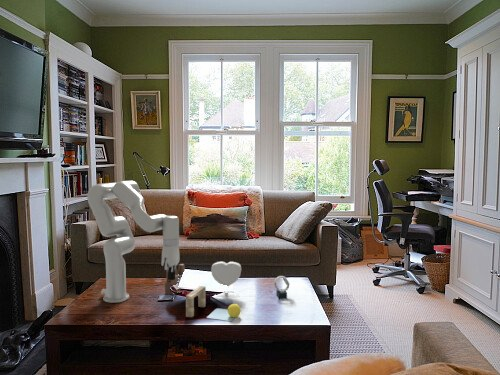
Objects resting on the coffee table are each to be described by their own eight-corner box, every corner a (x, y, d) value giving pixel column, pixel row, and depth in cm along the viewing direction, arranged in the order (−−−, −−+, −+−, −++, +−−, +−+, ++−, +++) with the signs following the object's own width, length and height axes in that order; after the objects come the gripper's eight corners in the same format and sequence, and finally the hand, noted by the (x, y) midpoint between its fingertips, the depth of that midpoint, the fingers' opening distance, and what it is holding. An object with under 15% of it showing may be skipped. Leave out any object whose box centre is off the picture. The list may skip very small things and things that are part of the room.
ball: (232, 322, 180) (223, 313, 181) (237, 317, 185) (227, 308, 187) (240, 312, 178) (230, 303, 180) (245, 308, 184) (235, 299, 185)
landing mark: (206, 318, 181) (206, 317, 181) (216, 308, 193) (216, 308, 193) (231, 321, 178) (231, 321, 178) (240, 311, 189) (240, 311, 189)
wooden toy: (177, 295, 212) (176, 248, 210) (164, 294, 213) (164, 248, 211) (185, 285, 227) (185, 242, 225) (173, 285, 228) (173, 242, 226)
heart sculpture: (211, 297, 208) (210, 263, 207) (212, 294, 213) (212, 261, 212) (240, 297, 208) (240, 263, 207) (241, 294, 213) (241, 261, 212)
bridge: (186, 316, 183) (185, 295, 182) (200, 305, 197) (199, 285, 196) (191, 317, 182) (191, 296, 181) (205, 305, 196) (205, 286, 196)
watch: (290, 298, 207) (290, 277, 207) (275, 299, 206) (275, 278, 205) (287, 294, 213) (288, 274, 212) (273, 295, 212) (273, 275, 211)
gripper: (171, 238, 199) (172, 274, 201) (155, 244, 185) (156, 283, 187) (185, 239, 197) (185, 275, 199) (170, 245, 183) (170, 284, 184)
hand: (171, 279), depth 193 cm, fingers closed
